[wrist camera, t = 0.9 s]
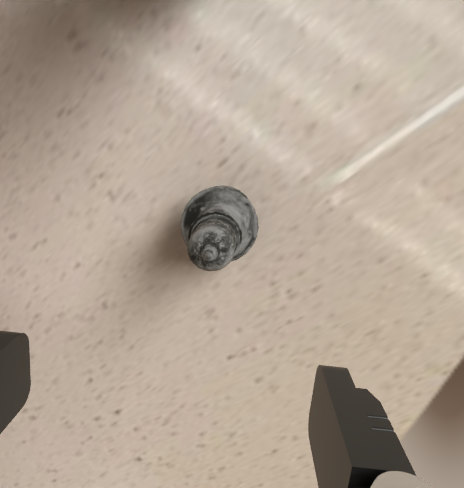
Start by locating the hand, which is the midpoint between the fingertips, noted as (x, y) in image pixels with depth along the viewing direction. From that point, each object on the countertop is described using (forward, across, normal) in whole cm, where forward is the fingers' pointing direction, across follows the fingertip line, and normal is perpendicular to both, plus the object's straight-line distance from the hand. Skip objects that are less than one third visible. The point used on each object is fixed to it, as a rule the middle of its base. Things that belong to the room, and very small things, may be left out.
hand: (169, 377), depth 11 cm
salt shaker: (+24, 0, 0) cm, 24 cm away
